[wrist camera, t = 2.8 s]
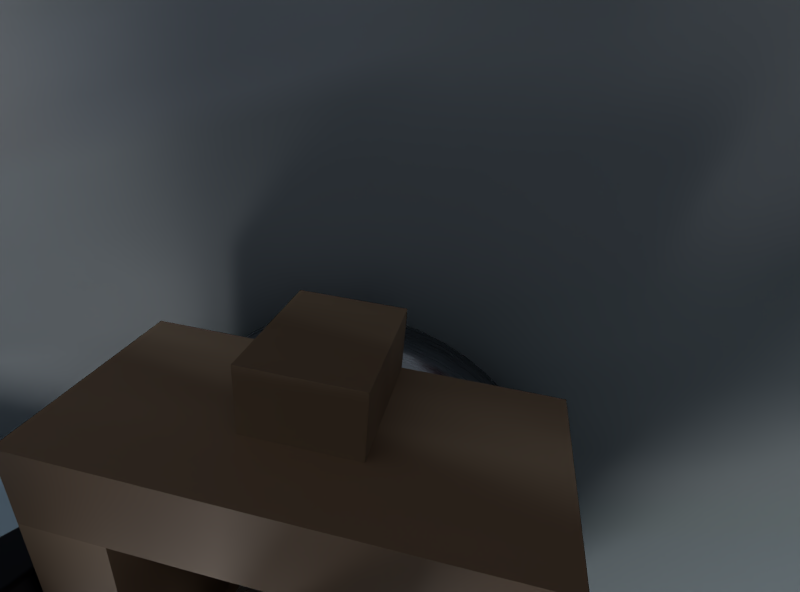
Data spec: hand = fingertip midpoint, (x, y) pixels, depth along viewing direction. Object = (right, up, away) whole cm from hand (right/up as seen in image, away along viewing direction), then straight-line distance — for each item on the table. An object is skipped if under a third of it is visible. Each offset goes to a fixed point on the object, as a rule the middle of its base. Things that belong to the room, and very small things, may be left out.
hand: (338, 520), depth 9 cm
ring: (0, 0, 0) cm, 0 cm away
